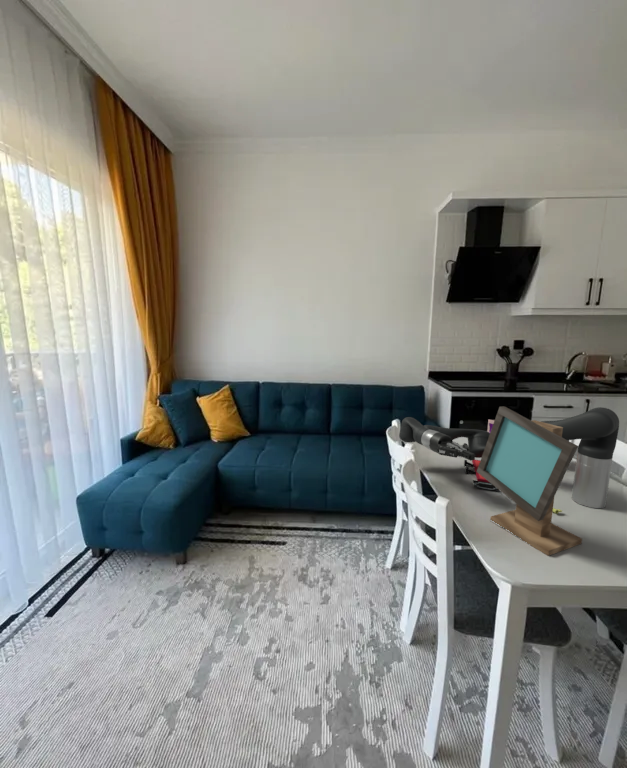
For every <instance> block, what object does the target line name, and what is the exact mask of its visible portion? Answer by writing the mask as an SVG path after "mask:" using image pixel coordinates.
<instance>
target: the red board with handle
mask: <svg viewBox="0 0 627 768" xmlns="http://www.w3.org/2000/svg"><path fill="white" fill-rule="evenodd" d="M480 461H481V459H479V460H478V459H475V460H471V462H468V459H464V462H463V466H464V467H465V466H466V467H465V475H469V474H473V475H475V476H476V480H474V479H473V480H472V482H473V486H474V488H478V489H485V490H490V491H498V492H500V490H499V489H497V488H496V487H495V486H494V485H492V484H491V483H490V482H489V481H487V480H486V479H485V478H484V477H482V476H481V475H480V474H479V473H477V469H478V466H479V463H480ZM469 466H470V467H472V468H473V470H472V469H471V468H470V467H469Z"/></svg>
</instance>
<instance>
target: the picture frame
mask: <svg viewBox="0 0 627 768" xmlns="http://www.w3.org/2000/svg"><path fill="white" fill-rule="evenodd" d="M494 420H495V421H494V424H493V427H492V429H491V432H490V435H489V438H488V441H487V444H486V446H485V449H484V452H483V455H482V458H480V460H481V461H480V463H479V466H478V469H477V473H479V474H480V475H481V476H482V477H484V478H485V479H486V480H487V481H489V482H490V483H491V484H492V485H494V486H495V487H496V488H497V489H499V492H502V493H503V494H504V495H505V496H506V497H508V498H509V499H510V500H511V501H513V503H515V505H516V504H517V505H519V506H520V507H521V508H522V509H524V510H525V511H526V512H527V513H529V514H530V515H531V516H532V517H534V518H535V519H536V520H537V521H540V520H543V519H544V517H545V515H546V513H547V511H548V508H549V506H550V504H551V502H552V500H553V498H554V499H555V496H556V493H557V492H558V490H559V489H560V488H559V487H560V486H561V483H562V481H563V479H564V477H565V475H566V473H567V470H569V466H570V465H571V462H572V460H573V458H574V456H575V454H576V451H578V446H579V445H577V444H575V443H573V442H572V441H570V440H569V441H568V440H566V439H564V438H562V437H560V436H558V435H557V434H555V433H553V432H551V431H549V430H547V429H545V428H544V427H542V426H540V425H538V424H536V423H534V422H532V420H531V419H529V418H527V417H525V416H523V415H521V414H519V413H518V412H516V411H514V410H512V409H510V408H508V407H507V406H505V405H504V406H499V407H498V410H497V413H496V415H495V419H494Z"/></svg>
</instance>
